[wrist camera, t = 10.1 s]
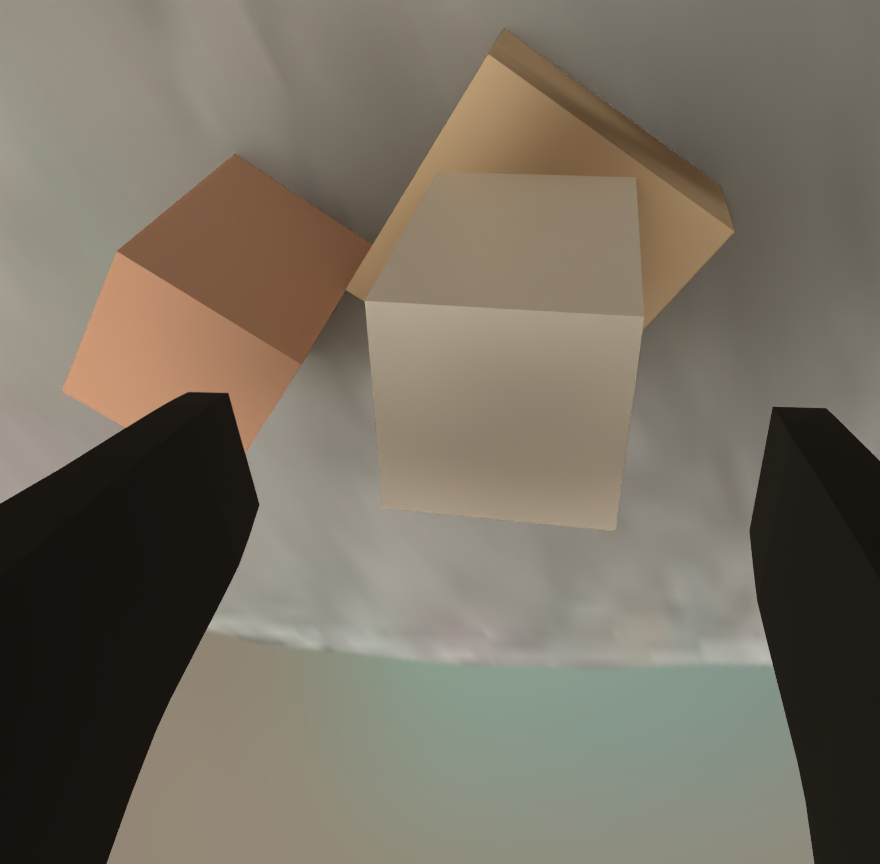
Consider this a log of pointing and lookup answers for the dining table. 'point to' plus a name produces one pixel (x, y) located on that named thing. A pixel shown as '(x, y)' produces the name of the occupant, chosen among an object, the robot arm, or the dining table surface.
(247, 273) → the terracotta cube
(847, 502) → the robot arm
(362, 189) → the dining table surface
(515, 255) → the cream cube
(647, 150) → the oak block
